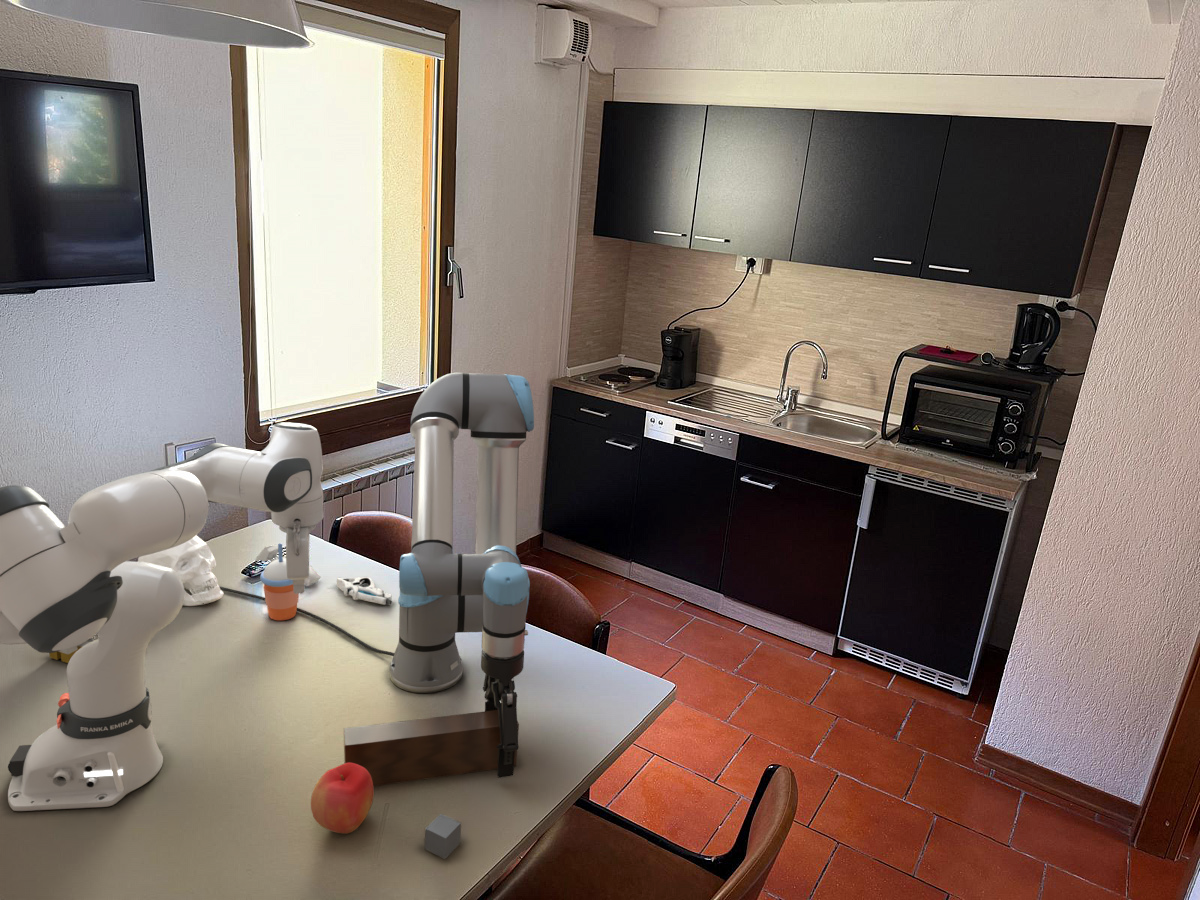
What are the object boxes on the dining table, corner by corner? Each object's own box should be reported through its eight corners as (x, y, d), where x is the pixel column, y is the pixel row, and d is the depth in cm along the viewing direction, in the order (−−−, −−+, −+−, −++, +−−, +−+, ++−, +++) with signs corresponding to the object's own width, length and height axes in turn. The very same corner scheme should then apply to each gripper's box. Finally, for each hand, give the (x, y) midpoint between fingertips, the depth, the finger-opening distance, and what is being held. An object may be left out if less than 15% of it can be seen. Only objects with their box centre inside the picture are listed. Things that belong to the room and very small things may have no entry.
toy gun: (409, 590, 213) (380, 602, 205) (409, 599, 214) (380, 611, 205) (356, 570, 222) (326, 580, 213) (355, 579, 222) (325, 590, 214)
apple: (348, 797, 145) (348, 747, 142) (386, 823, 140) (386, 772, 137) (300, 828, 137) (298, 775, 134) (338, 857, 132) (337, 803, 129)
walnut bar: (345, 790, 147) (344, 745, 144) (344, 771, 151) (343, 727, 148) (516, 766, 156) (518, 724, 153) (510, 749, 161) (512, 707, 158)
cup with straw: (289, 626, 196) (287, 555, 191) (253, 620, 198) (250, 548, 192) (310, 608, 205) (308, 539, 199) (275, 602, 206) (273, 533, 201)
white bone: (253, 565, 223) (254, 542, 221) (265, 560, 226) (266, 537, 224) (309, 593, 215) (310, 569, 213) (320, 588, 218) (321, 564, 216)
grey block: (424, 849, 135) (425, 828, 134) (440, 833, 139) (440, 813, 138) (445, 859, 134) (445, 838, 132) (460, 843, 137) (461, 822, 136)
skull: (203, 615, 198) (200, 551, 194) (126, 596, 203) (122, 534, 199) (242, 593, 210) (240, 533, 206) (168, 575, 216) (165, 517, 212)
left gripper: (316, 531, 144) (317, 605, 148) (315, 489, 163) (317, 556, 167) (276, 533, 142) (279, 608, 146) (280, 490, 161) (282, 558, 165)
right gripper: (540, 685, 141) (533, 793, 147) (509, 614, 163) (504, 711, 169) (495, 690, 138) (490, 800, 145) (470, 617, 160) (466, 716, 167)
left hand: (299, 580), depth 157 cm, fingers open, 8 cm apart
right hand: (498, 752), depth 157 cm, fingers open, 12 cm apart
